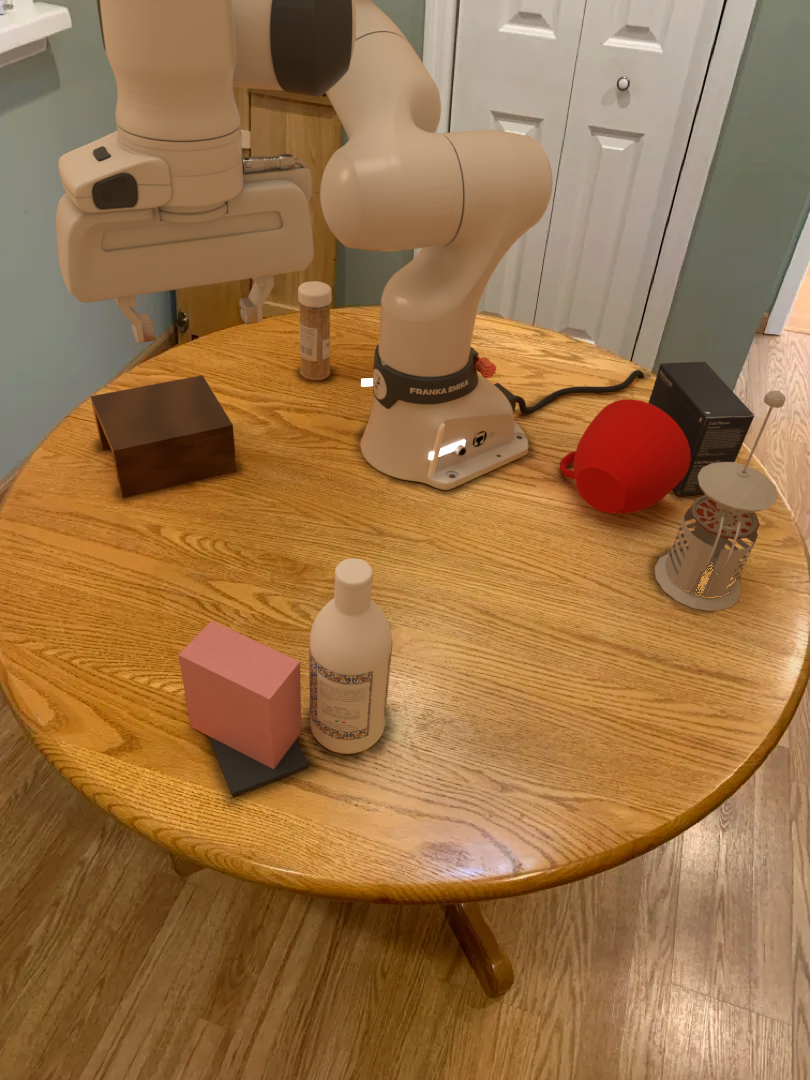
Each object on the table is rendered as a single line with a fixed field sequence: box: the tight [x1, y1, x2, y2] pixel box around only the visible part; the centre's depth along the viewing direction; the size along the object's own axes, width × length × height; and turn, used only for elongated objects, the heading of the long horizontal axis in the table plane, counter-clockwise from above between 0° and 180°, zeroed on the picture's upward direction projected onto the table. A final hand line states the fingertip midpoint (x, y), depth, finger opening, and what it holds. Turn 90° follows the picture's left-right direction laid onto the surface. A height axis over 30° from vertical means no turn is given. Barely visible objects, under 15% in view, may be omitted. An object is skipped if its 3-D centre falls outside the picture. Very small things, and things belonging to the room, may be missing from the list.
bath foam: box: [308, 557, 393, 755], centre depth 72 cm, size 7×7×20 cm
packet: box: [178, 620, 302, 769], centre depth 73 cm, size 4×9×10 cm, turn 63°
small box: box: [648, 361, 755, 496], centre depth 109 cm, size 13×7×12 cm, turn 12°
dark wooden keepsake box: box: [90, 374, 237, 499], centre depth 104 cm, size 14×12×7 cm
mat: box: [207, 735, 309, 798], centre depth 77 cm, size 7×11×1 cm, turn 27°
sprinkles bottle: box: [297, 280, 333, 381], centre depth 119 cm, size 5×5×13 cm
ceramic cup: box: [559, 398, 691, 515], centre depth 103 cm, size 13×17×10 cm
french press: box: [654, 390, 786, 612], centre depth 88 cm, size 10×12×25 cm
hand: (199, 329), depth 73 cm, fingers open, 8 cm apart
